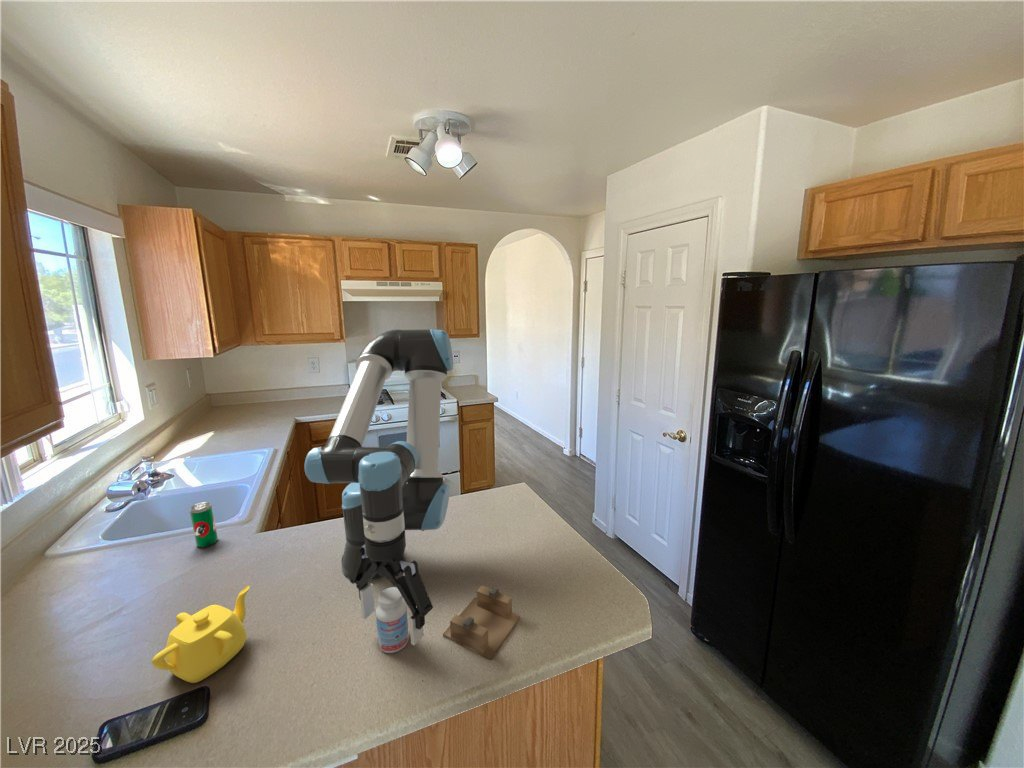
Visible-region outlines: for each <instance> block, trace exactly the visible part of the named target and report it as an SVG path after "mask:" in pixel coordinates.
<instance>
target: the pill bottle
mask: <svg viewBox="0 0 1024 768" xmlns="http://www.w3.org/2000/svg"><path fill="white" fill-rule="evenodd" d="M377 598H378V604H377V606H376V608H375V618H376V619H375V620H376V628H377V629H376V631H377V642H378V643H377V644H378V647H379V649H380V650H381V651H382V652H383V653H386V654H394V653H397V652H399V651H401V650H402V649H405V647H406V645H407V644H408V642H409V621H408V605H407V603H406V602H405V600H404V598H403V597H402V595H401V593H400V592H399V590H398V588H397V587H396V586H392V587H388V588H385V589H383V590H382V591H381V592H380V593H379V595H378V597H377Z"/></svg>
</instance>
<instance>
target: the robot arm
mask: <svg viewBox="0 0 1024 768" xmlns="http://www.w3.org/2000/svg"><path fill="white" fill-rule="evenodd" d="M355 369H356V372H355V375H354V377H353V379H352V381H351V384H350V387H349V388H348V391H347V394H346V396H345V399H344V401H343V403H342V406H341V408H340V410H339V412H338V415H337V418H336V419H335V422H334V424H333V427H332V429H331V431H330V434H329V436H328V438H327V439H326V440H327V441H326V443H325V445H324V446H318V447H317V446H316V447H313V448H311V450H310V451H308V453H307V454H306V457H305V461H304V472H305V476H306V478H307V480H309V482H312V483H316V484H317V483H318V484H327V485H331V484H348V485H346V487H345V488H344V489H343V491H342V493H341V502H342V503H341V509H342V514H343V523H344V525H343V526H344V531H345V533H344V534H345V546H344V551H343V554H342V556H341V560H340V561H341V571H342V573H343V575H344V576H345V577H346V578H348V579H349V581H350V584H356V585H355V586H356V588H357V590H358V594H359V595H358V596H359V601H360V607H361V617H362V619H364V620H366V619H367V618H368V617H369V616H371V614H373V613H374V612H376V608H375V596H374V585H373V583H371V581H373V580H377V579H379V578H381V577H383V578H385V579H387V580H388V581H390V583H391V584H392V587H396V588H398V590H399V592H400V593H401V595H402V597H403V599H404V600H405V602H406V605H407V608H409V610H410V612H411V613H410V614H409V628H410V631H409V632H410V644H411V645H413V646H415V645H416V644H417V643H418V642H419V641H420V640H421V639H422V638H423V637H424V626H425V624H426V619H425V617H426V615H428V614H429V612H430V611H432V610H433V608H434V606H433V605H434V604H433V603H432V601H431V598H430V596H429V593H428V591H427V589H426V586H425V584H424V581H423V579H422V577H421V575H420V572H419V567H418V565H419V564H418V562H417V561H416V560H413V561H411V562H407V561H406V559H405V557H404V553H405V550H406V547H407V544H406V543H407V540H406V531H421V532H424V531H433V530H434V531H435V530H438V529H440V528H441V526H442V525H443V524H444V521H445V519H446V516H447V513H448V512H447V511H448V507H449V500H450V485H449V483H447V482H444V475H443V474H442V473H441V472H440V470H439V452H440V451H439V450H440V449H439V448H440V446H439V445H440V429H441V427H440V426H441V425H440V422H441V401H442V399H441V397H442V395H441V394H442V383H443V382H444V381H445V380H446V379H447V377H448V372H451V371H453V370H454V357H453V349H452V343H451V341H450V336H449V334H448V333H447V331H445V330H443V329H433V328H430V329H391V330H387V331H384V332H382V333H381V334H379V335H377V336H376V337H374V338H373V339H372V340H370V341H369V342H368V343H367V344H366V346H365V347H363V349H362V350H361V351H360V353H359V355H358V357H357V360H356V362H355ZM397 371H401V372H402V371H403V372H404V377H405V379H407V380H408V382H409V390H408V406H407V407H408V409H407V410H408V411H407V426H406V427H407V428H406V429H407V430H406V441H404V440H397V441H395V442H392V443H390V444H389V445H388V446H379V447H378V446H377V447H376V446H374V447H373V446H370V447H369V446H367V447H365V446H364V443H365V441H366V437H367V435H368V431H369V429H370V425H371V423H372V420H373V417H374V414H375V411H376V408H377V406H378V403H379V400H380V397H381V394H382V391H383V389H384V385H385V383H386V381H388V379H390V378H391V376H392V374H393V372H397ZM400 574H401V576H400V577H398V576H399V575H400Z"/></svg>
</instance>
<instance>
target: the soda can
mask: <svg viewBox="0 0 1024 768" xmlns="http://www.w3.org/2000/svg"><path fill="white" fill-rule="evenodd" d="M189 514H190V519H191V526H192V529H193V530H192V531H193V534H194V540H195V544H196V545H195V546H196V547H199V548H207V547H210V546H212V545H213V544H215V543H217V541H218V539H219V537H218V532H217V527H216V521H215V516H214V515H215V514H214V511H213V505H212V504H210V502H209V501H204V502H203V501H202V502H199V503H196V504H193V505H191V508H190V511H189Z"/></svg>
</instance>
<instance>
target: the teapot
mask: <svg viewBox="0 0 1024 768" xmlns="http://www.w3.org/2000/svg"><path fill="white" fill-rule="evenodd" d="M249 589H251V586H250V585H248V586H245V587H244V588H243V589H241V591H239V593H238V596H237V597H236V601H235V606H234V610H233V611H232V610H231V609H229V608H227V607H225V606H222V605H220V604H211V605H209V606H206V607H204V608H202V609H200V610H199V611H197V612H196V613H194V614H192V615H191V614H189V613H187V612H186V611H185V612H180V613H179V614H177V615H176V617H175V620H176V623H177V626H175V627H174V628H173V629H172V630H171V631H170V632H169V634H168V638H167V641H166V646H165V648H164V649H162V650H160V651H159V652H158V653H156V654H155V656H153V657H152V660H151V664H152V666H153V667H154V668H156V669H159V670H164V671H169V672H170V673H172V675H174V676H175V677H177V678H179V679H181V680H183V681H185V682H187V683H191V684H196V683H198V682H201V681H203V680H204V679H207V678H208V677H209V676H211V675H213V674H214V673H216V672H217V671H218V670H220V669H222V668H223V667H224V666H225V665H226V664H228V663H229V662H230V661H231V660H232V659H233V658H234V657H235V656H236V655H237V654H238V653H239V652H240V651H241V649H242V648H244V645H245V642H246V639H247V632H246V629H245V627H244V620H245V619H246V603H245V602H246V601H245V600H246V599H245V598H246V595H247V593H248V591H249Z"/></svg>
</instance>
